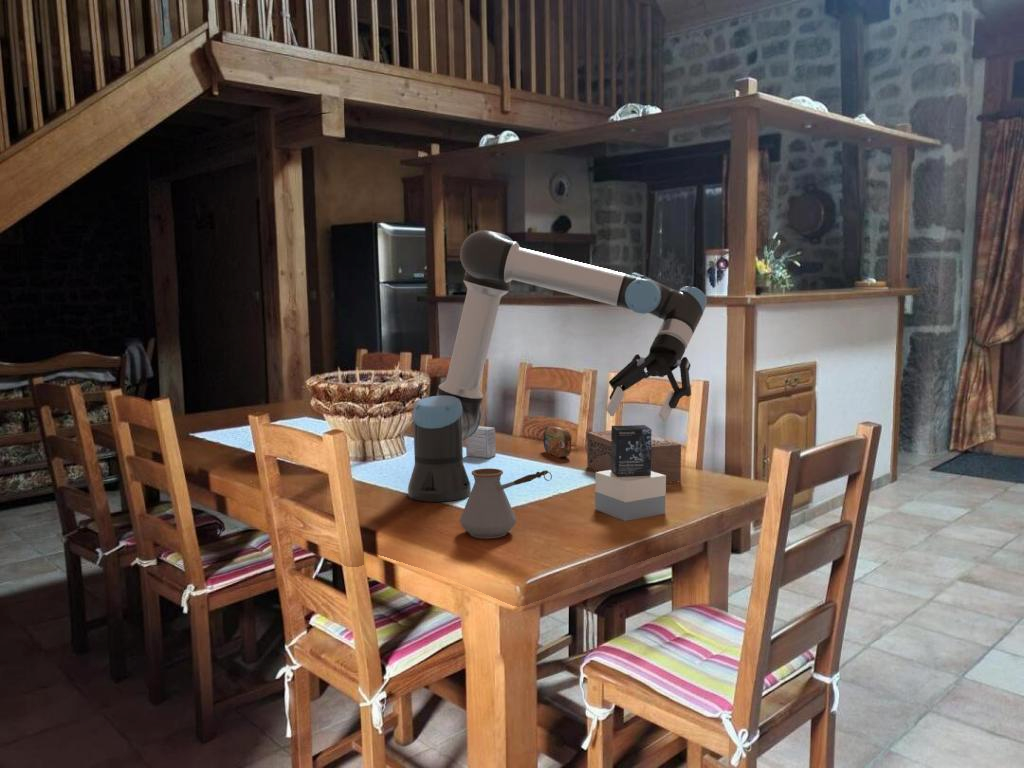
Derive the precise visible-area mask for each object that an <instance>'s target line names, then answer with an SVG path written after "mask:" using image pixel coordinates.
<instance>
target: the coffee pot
mask: <svg viewBox="0 0 1024 768" xmlns="http://www.w3.org/2000/svg"><path fill="white" fill-rule="evenodd" d="M503 474H504V471H503V470H502V469H498V468H489V467H487V468H479V469H478V468H477V469H474V470H472V471H471V475H472V476H473V479H474V484H473V486H472V487H471V488H472V489H471V493H470V495H469V496H468V498H467V500H466V503H465V506H464V509H463V511H462V513H461V515H460V519H459V523H460V526H461V527H462V528H463V530H465V531H466V533H469V535H470V537H474V538H476V539H477V538H478V539H497V538H498V539H499V538H502V537H505V536H506V535H508V532H510V531H511V530H512V529H513V528H514V527H515V524H516V521H517V517H516V515H515V512H514V511H513V508H512V506H511V502H510V501H509V499H508V497H507V494H506V492H505V489H508V488H510V487H513V486H518V485H521V484H524V483H528V482H532V481H533V480H535V479H537V478H538V479H541V478H542V476H543V478H544V480H545V481H547V482H548V481H549V482H550V481H551V480H552V478H553V476H552V473H551V472H550V471H548V470H542V471H541V472H540V471H536V472H535V473H532V474H531V473H530V474H527V475H525V476H523V477H520V478H518V479H516V480H513V481H511V482H506V483H504V484H502V483H501V476H502V475H503ZM548 474H549V475H550V479H547V478H546V476H545V475H548Z"/></svg>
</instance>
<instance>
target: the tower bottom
mask: <svg viewBox="0 0 1024 768" xmlns="http://www.w3.org/2000/svg"><path fill="white" fill-rule="evenodd" d="M594 493H595V495H594V501H595V502H594V503H595V504H594V510H597V511H599V512H602V513H604V514H606V515H607V516H608V515H610V516H612V517H614V518H617V519H619V520H621V521H623V522H625V521H631V520H637V519H643V518H649V517H655V516H660V515H664V514H666V496H660V497H654V498H648V499H642V500H637V501H631V502H623V501H620V500H618V499H615V498H612V497H609V496H606V495H603V494H601V493H598V492H596V491H595V492H594Z"/></svg>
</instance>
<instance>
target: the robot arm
mask: <svg viewBox="0 0 1024 768" xmlns="http://www.w3.org/2000/svg"><path fill="white" fill-rule="evenodd" d="M462 242H463V243H462V244H461V247H460V251H459V253H460V254H459V257H460V258H459V259H460V261H461V265H462V268H463V269H464V271H465V272H464V278H463V283H464V285H465V286H466V288H467V289H466V290H467V291H466V295H465V299H464V303H463V307H462V308H463V309H462V311H461V316H460V321H459V325H458V329H457V332H456V333H457V334H456V338H455V342H454V346H453V351H452V355H451V359H450V363H449V367H448V372H447V376H446V379H445V381H444V382H442V383H440V384H439V385H438V387H437V392H436V395H431V396H428V397H424V398H423V397H422V398H421V399H419V400H417V401H416V402H415V403H414V405H413V413H412V421H413V449H414V450H413V451H414V452H413V453H414V465H413V469H412V471H411V474H410V478H409V482H408V485H407V486H408V487H407V496H408V497H409V498H410V499H412V500H413V501H415V500H416V501H420V502H428V503H436V502H437V503H439V502H440V503H442V502H444V503H445V502H453V501H458V500H461V499H465V498H467V497H468V498H469V496H470V493H471V491H472V489H471V488H472V487H471V482H470V480H469V476H468V474H467V471H466V468H465V465H464V457H463V455H464V454H463V451H464V450H463V449H464V448H463V444H464V443H463V441H466V439H467V438H469V437H470V436H472V435H473V434H474V433H475V431H476V430H477V429H478V427H479V426H481V425H480V424H481V422H482V415H483V414H482V409H481V407H482V402H483V397H484V394H483V393H482V392H481V389H480V386H481V382H482V381H481V380H482V377H483V374H484V369H485V365H486V360H487V357H488V356H487V355H488V352H489V348H490V343H491V341H492V335H493V331H494V327H495V324H496V319H497V315H498V311H499V306H500V304H501V303H500V302H501V299H502V297H503V296H504V295H507V293H509V290H510V287H511V283H512V281H516V282H520V283H523V284H529V285H532V286H537V287H540V288H545V289H548V290H552V291H556V292H560V293H565V294H569V295H572V296H575V297H580V298H584V299H588V300H591V301H597V302H599V303H603V304H607V305H612V306H614V307H615V306H616V307H619V308H623V309H625V310H630V311H633V312H635V313H639V314H650V315H651V316H654V317H656V318H659V319H661V320H663V321H662V324H661V326H660V328H659V330H658V332H657V333H656V336H655V337H654V340H653V341H652V344H651V346H650V348H649V353H648V354H647V356H645V357H642V356H640V354H635V355H634V357H632V360H631V361H630V362H629V363H627V365H625V367H623V368H622V369H621V370H620V371H619V372H618V373H617V374H615V375H614V376H613V377H612V378H611V379H610V380H609V381H608V383H609V385H610V387H611V389H612V391H611V393H610V395H609V402H608V404H607V406H606V408H605V409H606V411H607V413H608V414H609V416H610V417H615V414H616V412H617V410H618V408H619V406H620V404H621V403H622V400H623V398H624V396H625V393H624V392H625V391H626V390H628V389H630V388H631V387H633V386H634V385H636V384H638V383H639V382H641V381H642V380H644V379H649V377H660V378H664V377H665V376H666V378H667V379H668V382H669V384H670V385H671V387H672V390H669V391H668V393H667V395H666V398H665V399H664V402H663V405H662V406H661V408H660V410H659V412H658V416H659V418H660V419H661V421H662V423H667V421H668V419H669V416H670V415H671V413H672V411H673V409H676V408H677V406H678V405H679V402H680V400H681V398H683V397H685V396H686V397H691V395H692V390H691V389H692V388H691V381H690V372H689V371H690V368H691V363H690V361H689V359H688V357H686V356H684V354H685V353H686V349H687V348H688V346H689V344H690V341H691V339H692V337H693V336H694V333H695V331H696V329H697V327H698V325H699V323H700V321H701V319H702V317H703V315H704V312H705V310H706V307H707V303H708V299H707V296H706V293H704V292H703V291H702V290H701V289H699V288H698V287H695V286H687V285H686V286H683V287H681V288H680V289H679V290H676V289H673V288H671V287H668V286H667V285H664V284H662V283H660V282H658V281H655V280H653V279H652V278H650V277H648V276H646V275H644V274H643V275H642V274H640V273H638V272H632V273H631V274H627V273H624V272H620V271H619V272H618V271H615V270H612V269H608V268H604V267H599V266H596V265H591V264H588V263H583V262H579V261H575V260H571V259H567V258H564V257H559V256H556V255H552V254H547V253H543V252H540V251H535V250H531V249H527V248H523V247H521V246H520V244H519V243H518V241H514V240H513V239H512V238H510V237H509V235H506V234H504V233H501V232H495V231H491V230H487V229H486V230H477V231H475V232H473V233H470V235H468V236H467V237H466V238H465V240H464V241H462ZM678 367H679V371H680V373H679V374H680V381H681V382H680V383H681V387H680V386H679V384H678V383H677V380H676V378H675V375H674V373H673V371H674V370H676V369H677V368H678ZM645 369H646V371H645Z"/></svg>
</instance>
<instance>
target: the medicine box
mask: <svg viewBox="0 0 1024 768" xmlns="http://www.w3.org/2000/svg"><path fill="white" fill-rule="evenodd" d="M465 449H466V450H465V451H466V452H465V454H466V455H465V456H466V457H473V458H482V459H483V458H484V459H490V458H493V457H496V455H497V454H496V453H497V452H496V451H497V449H496V428H495V427H493V426H492V427H491V426H482V425H479V427H478V429H477V430H476V431H475V433H474V434H473V435H472V436H470V437H469V438H467V439H465Z"/></svg>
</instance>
